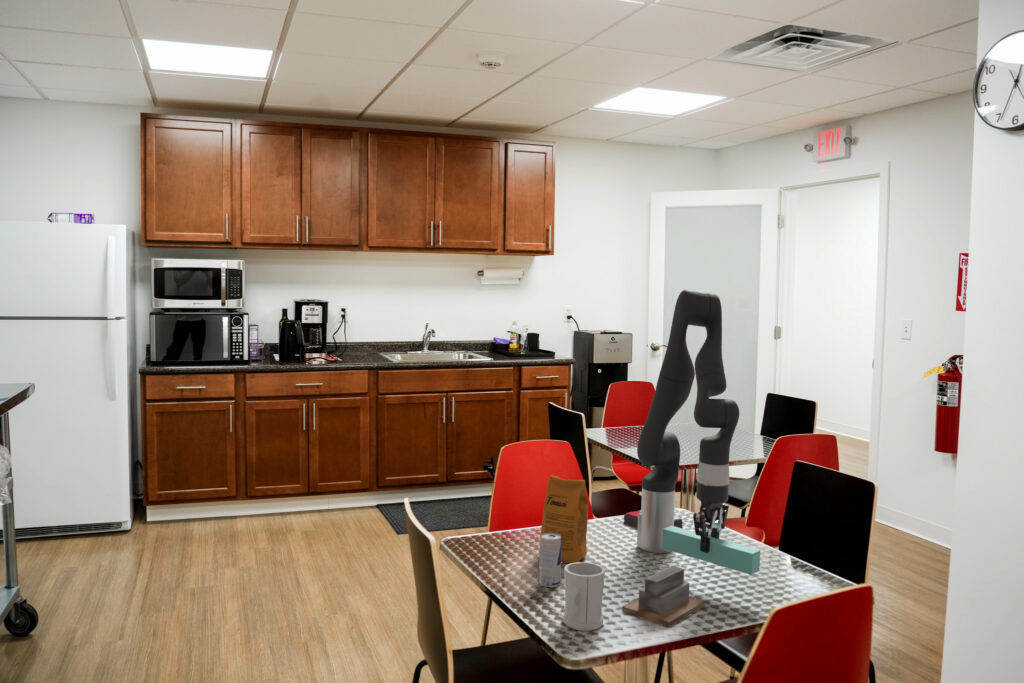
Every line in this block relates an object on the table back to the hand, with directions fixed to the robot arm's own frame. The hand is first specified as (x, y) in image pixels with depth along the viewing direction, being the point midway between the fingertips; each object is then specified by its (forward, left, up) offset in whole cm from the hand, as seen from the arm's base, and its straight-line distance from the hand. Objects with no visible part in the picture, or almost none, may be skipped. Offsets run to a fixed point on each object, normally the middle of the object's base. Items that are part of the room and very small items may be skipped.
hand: (709, 549), depth 187 cm
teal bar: (0, 0, -2) cm, 2 cm away
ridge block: (-2, -18, -10) cm, 21 cm away
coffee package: (-40, -7, -10) cm, 42 cm away
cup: (-10, -38, -10) cm, 40 cm away
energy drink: (-30, -25, -10) cm, 40 cm away
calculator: (-38, +36, -11) cm, 53 cm away
